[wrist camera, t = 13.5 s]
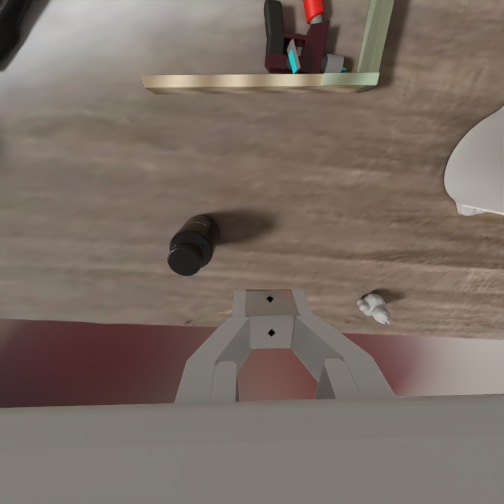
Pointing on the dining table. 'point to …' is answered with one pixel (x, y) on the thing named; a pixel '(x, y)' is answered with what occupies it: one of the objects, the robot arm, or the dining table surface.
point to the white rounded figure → (375, 308)
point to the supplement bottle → (193, 245)
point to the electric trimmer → (10, 23)
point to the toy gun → (298, 42)
